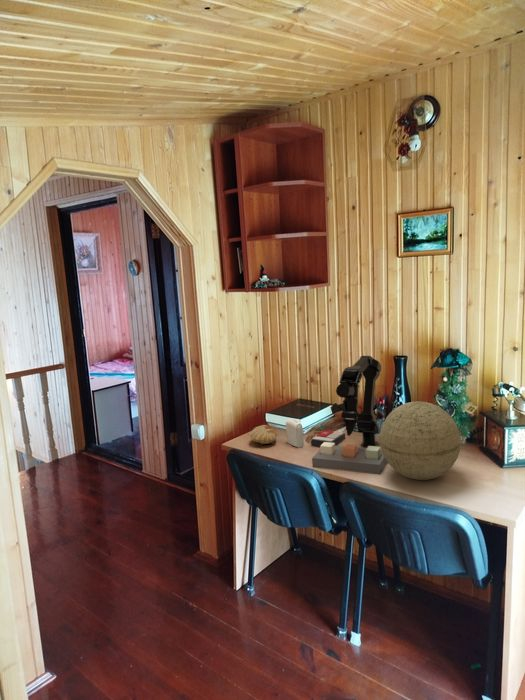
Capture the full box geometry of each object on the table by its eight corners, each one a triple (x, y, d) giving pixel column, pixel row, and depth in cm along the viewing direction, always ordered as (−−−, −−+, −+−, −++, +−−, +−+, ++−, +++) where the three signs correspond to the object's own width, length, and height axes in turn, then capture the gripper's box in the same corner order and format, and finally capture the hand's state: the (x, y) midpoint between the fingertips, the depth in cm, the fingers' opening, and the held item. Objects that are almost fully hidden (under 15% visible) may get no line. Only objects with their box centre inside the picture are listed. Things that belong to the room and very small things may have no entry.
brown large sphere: (454, 499, 182) (452, 417, 177) (371, 487, 197) (368, 411, 192) (466, 466, 208) (465, 394, 203) (392, 458, 223) (389, 390, 218)
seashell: (268, 433, 270) (292, 438, 262) (242, 444, 253) (267, 450, 245) (268, 418, 269) (292, 423, 260) (242, 428, 252) (267, 434, 243)
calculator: (345, 431, 251) (331, 440, 239) (345, 440, 251) (331, 449, 239) (325, 429, 257) (310, 437, 245) (325, 437, 258) (310, 446, 245)
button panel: (325, 453, 235) (324, 444, 234) (388, 459, 222) (388, 450, 221) (312, 466, 221) (311, 457, 220) (380, 474, 208) (379, 464, 207)
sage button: (369, 456, 220) (368, 445, 219) (381, 458, 218) (380, 446, 217) (366, 461, 215) (365, 450, 214) (378, 462, 213) (377, 451, 212)
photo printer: (286, 442, 252) (284, 418, 250) (293, 440, 254) (291, 416, 252) (297, 448, 243) (295, 423, 241) (305, 446, 245) (303, 421, 243)
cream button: (324, 452, 229) (324, 441, 228) (335, 453, 226) (334, 442, 226) (321, 456, 224) (320, 446, 223) (331, 458, 222) (331, 446, 221)
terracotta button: (346, 454, 224) (346, 443, 223) (357, 455, 222) (357, 444, 221) (343, 459, 220) (342, 447, 219) (354, 460, 218) (353, 449, 217)
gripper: (334, 396, 230) (332, 431, 229) (329, 396, 212) (328, 435, 211) (359, 397, 228) (357, 433, 227) (357, 398, 210) (355, 437, 209)
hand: (349, 434), depth 218 cm, fingers open, 9 cm apart
